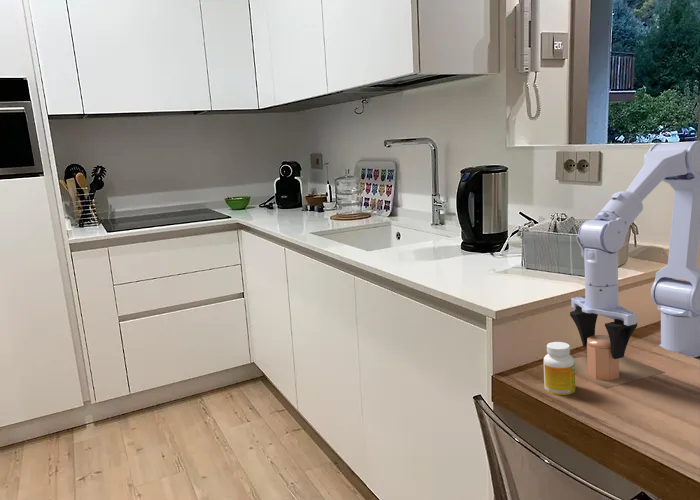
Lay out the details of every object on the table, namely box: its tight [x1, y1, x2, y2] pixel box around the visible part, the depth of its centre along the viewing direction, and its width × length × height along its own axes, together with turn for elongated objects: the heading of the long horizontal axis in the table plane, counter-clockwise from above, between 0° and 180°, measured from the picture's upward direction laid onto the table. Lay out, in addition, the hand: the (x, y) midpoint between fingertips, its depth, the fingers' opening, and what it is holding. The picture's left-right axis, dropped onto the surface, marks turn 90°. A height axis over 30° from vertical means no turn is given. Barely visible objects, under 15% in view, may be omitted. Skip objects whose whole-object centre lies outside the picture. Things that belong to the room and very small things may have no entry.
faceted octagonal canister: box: [586, 334, 619, 380], centre depth 103 cm, size 6×6×7 cm
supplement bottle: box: [543, 341, 576, 396], centre depth 99 cm, size 5×5×10 cm
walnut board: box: [573, 355, 666, 389], centre depth 107 cm, size 14×14×1 cm
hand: (602, 351), depth 103 cm, fingers open, 7 cm apart
